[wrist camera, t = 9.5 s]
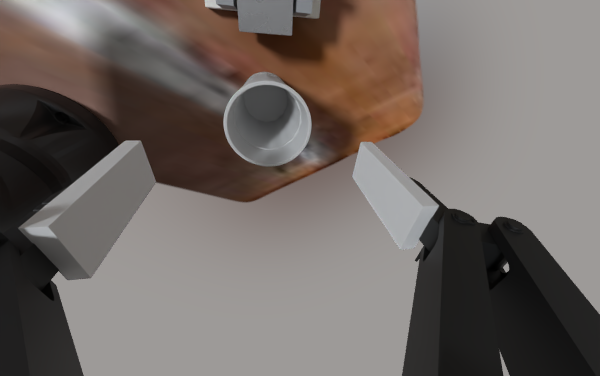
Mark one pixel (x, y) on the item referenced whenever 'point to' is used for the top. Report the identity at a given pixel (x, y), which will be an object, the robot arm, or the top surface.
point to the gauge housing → (303, 6)
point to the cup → (267, 121)
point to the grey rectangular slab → (265, 16)
